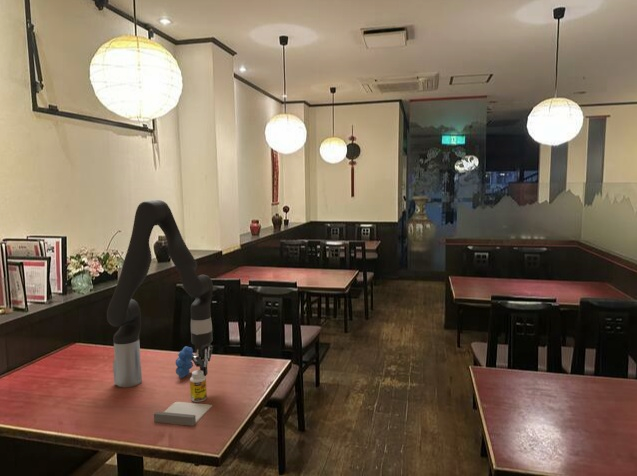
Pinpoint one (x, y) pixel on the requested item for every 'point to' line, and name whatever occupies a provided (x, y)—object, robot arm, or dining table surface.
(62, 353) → the dining table surface
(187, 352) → the grapes
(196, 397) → the supplement bottle
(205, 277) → the robot arm
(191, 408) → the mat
